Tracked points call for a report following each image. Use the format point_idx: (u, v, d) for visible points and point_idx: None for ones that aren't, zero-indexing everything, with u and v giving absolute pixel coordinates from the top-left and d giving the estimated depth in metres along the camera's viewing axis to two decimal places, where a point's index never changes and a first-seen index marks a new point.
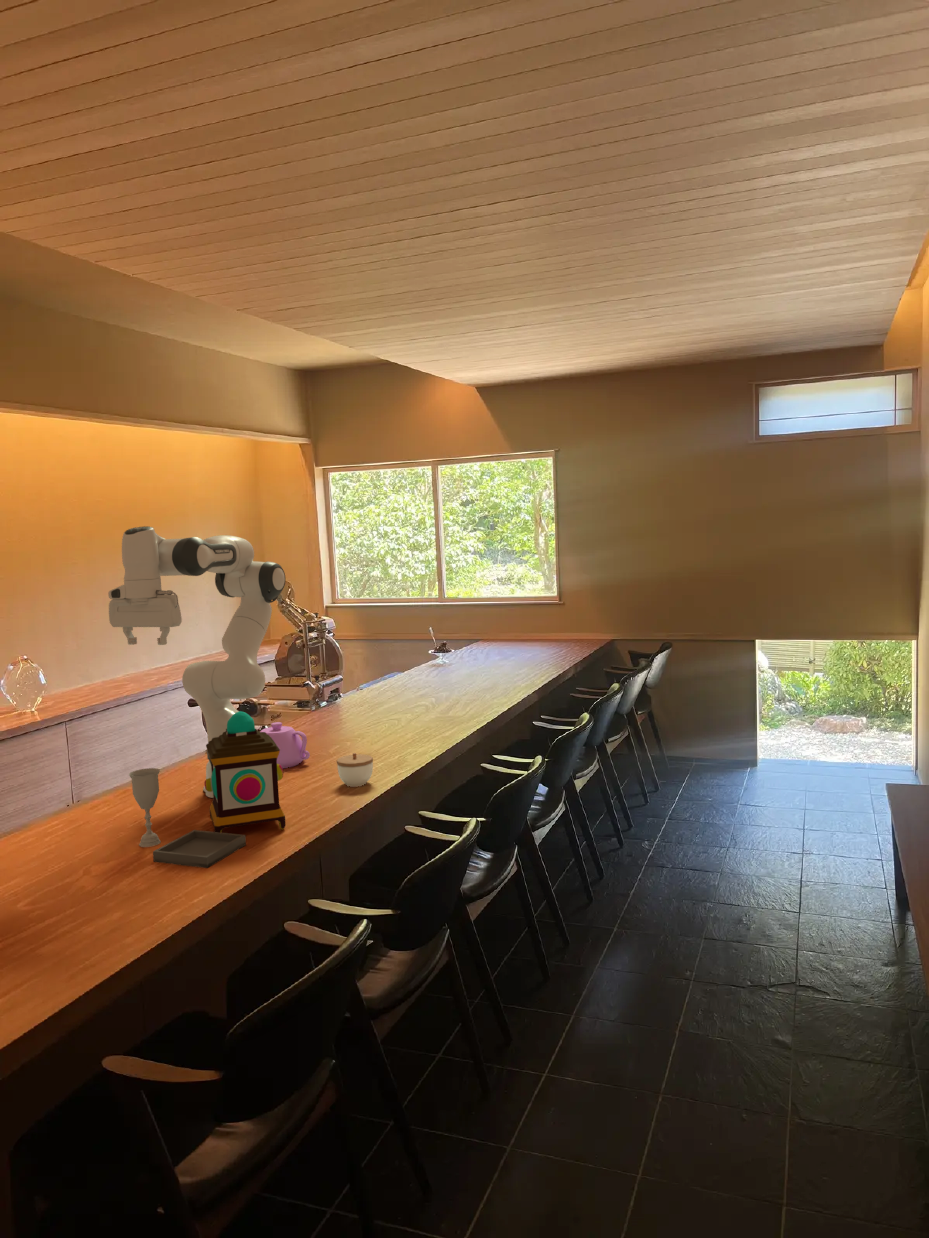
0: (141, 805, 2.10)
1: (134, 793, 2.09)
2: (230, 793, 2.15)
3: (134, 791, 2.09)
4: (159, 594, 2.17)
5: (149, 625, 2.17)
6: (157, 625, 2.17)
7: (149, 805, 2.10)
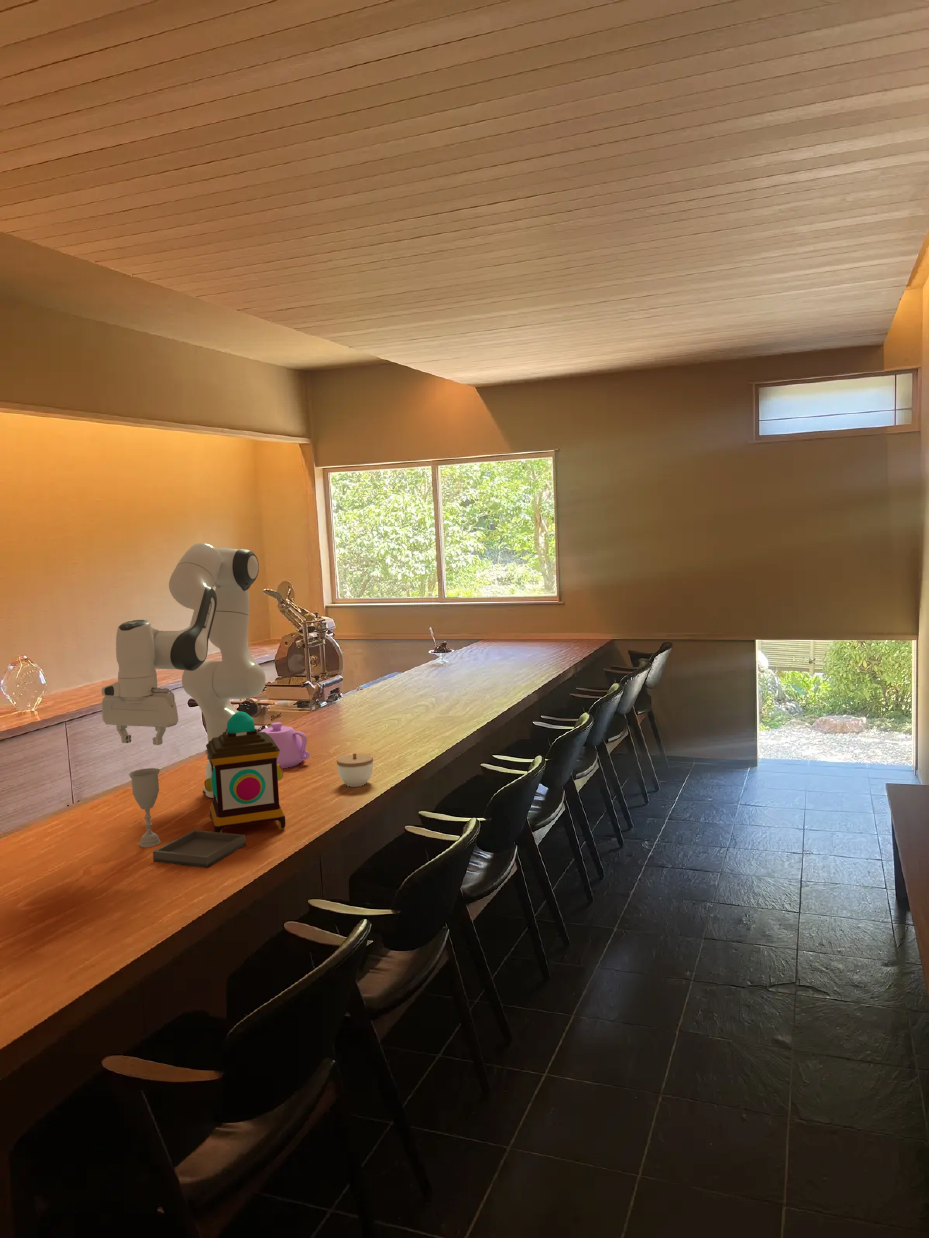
0: (141, 805, 2.10)
1: (134, 793, 2.09)
2: (230, 793, 2.15)
3: (134, 791, 2.09)
4: (155, 692, 2.07)
5: (144, 725, 2.07)
6: (152, 725, 2.06)
7: (149, 805, 2.10)
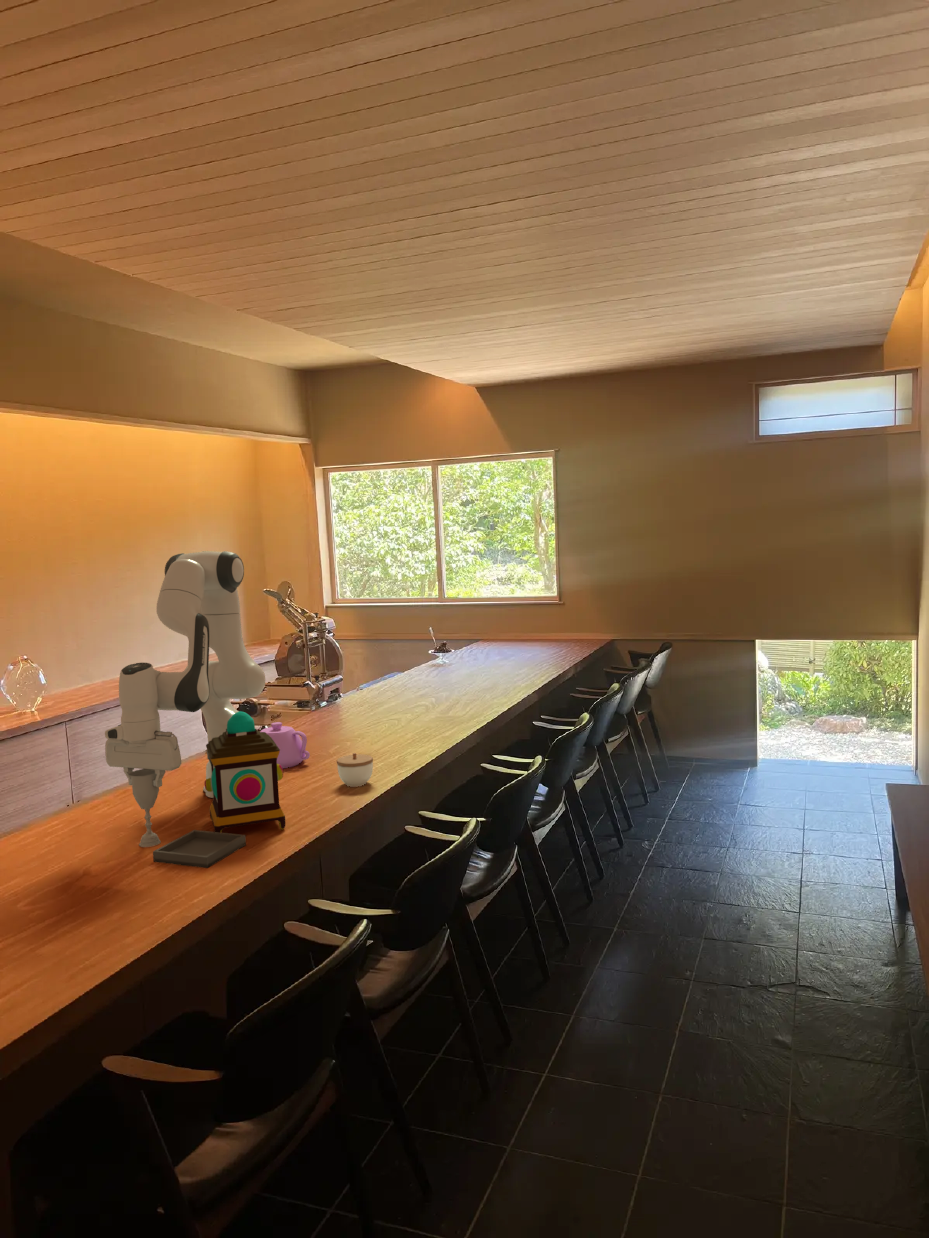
0: (141, 805, 2.10)
1: (134, 793, 2.09)
2: (230, 793, 2.15)
3: (134, 791, 2.09)
4: (158, 735, 2.08)
5: (148, 768, 2.08)
6: (156, 768, 2.07)
7: (149, 805, 2.10)
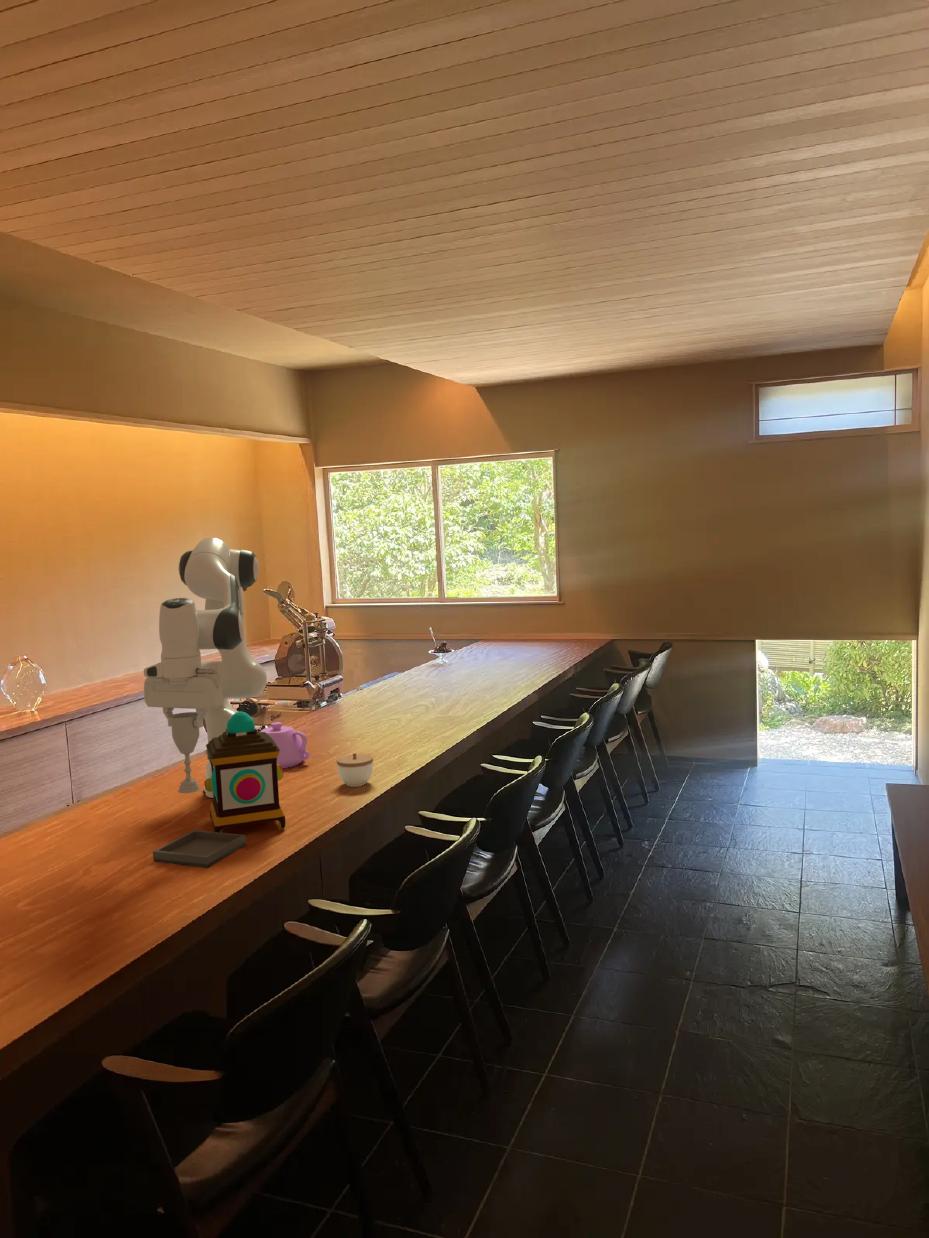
0: (181, 749, 2.01)
1: (174, 736, 2.00)
2: (230, 793, 2.15)
3: (174, 734, 2.00)
4: (199, 673, 1.99)
5: (189, 707, 1.99)
6: (197, 707, 1.98)
7: (189, 750, 2.01)
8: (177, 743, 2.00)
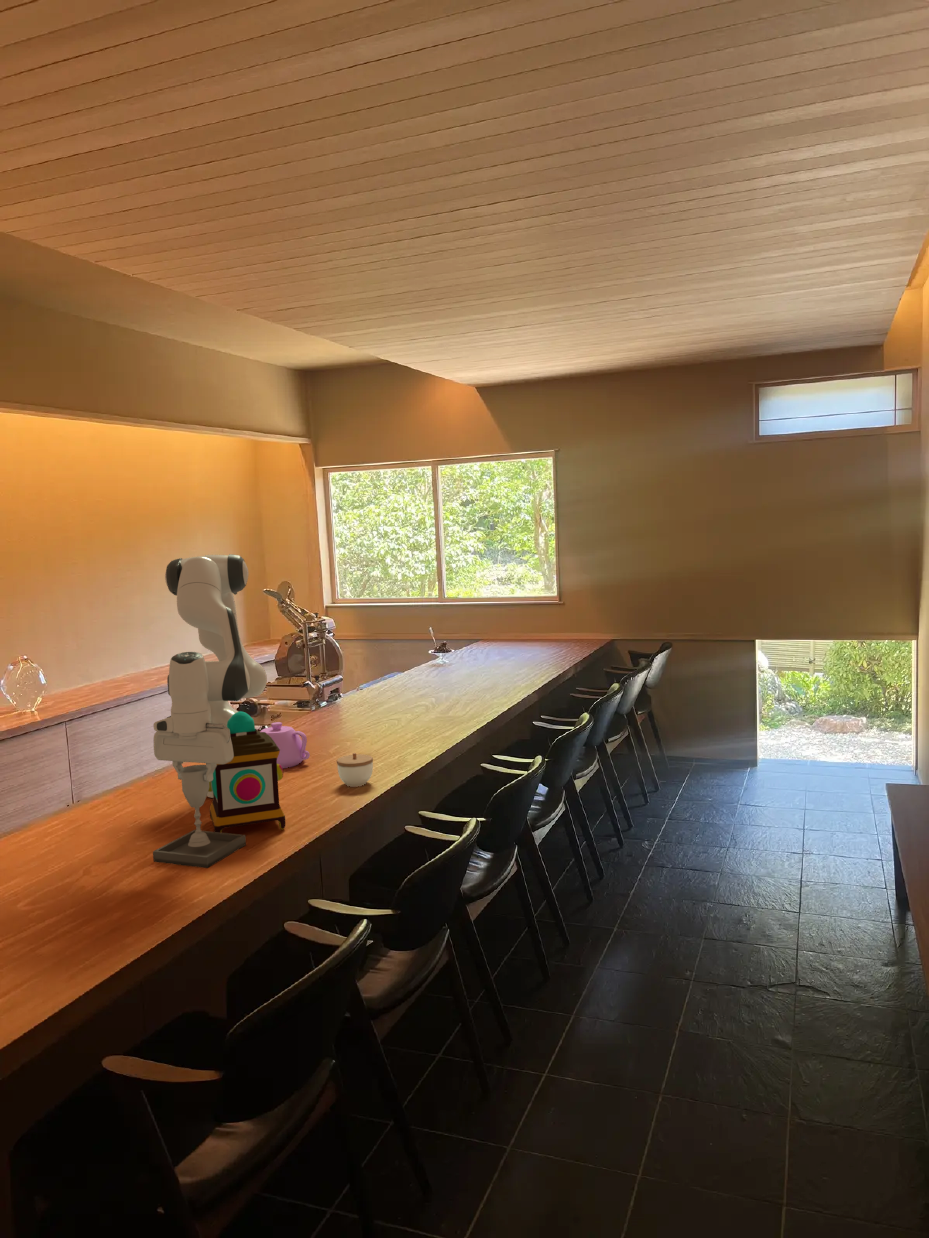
0: (191, 803, 2.01)
1: (184, 790, 2.00)
2: (230, 793, 2.15)
3: (184, 788, 2.00)
4: (209, 727, 1.99)
5: (199, 761, 2.00)
6: (207, 761, 1.99)
7: (199, 803, 2.02)
8: (187, 797, 2.00)
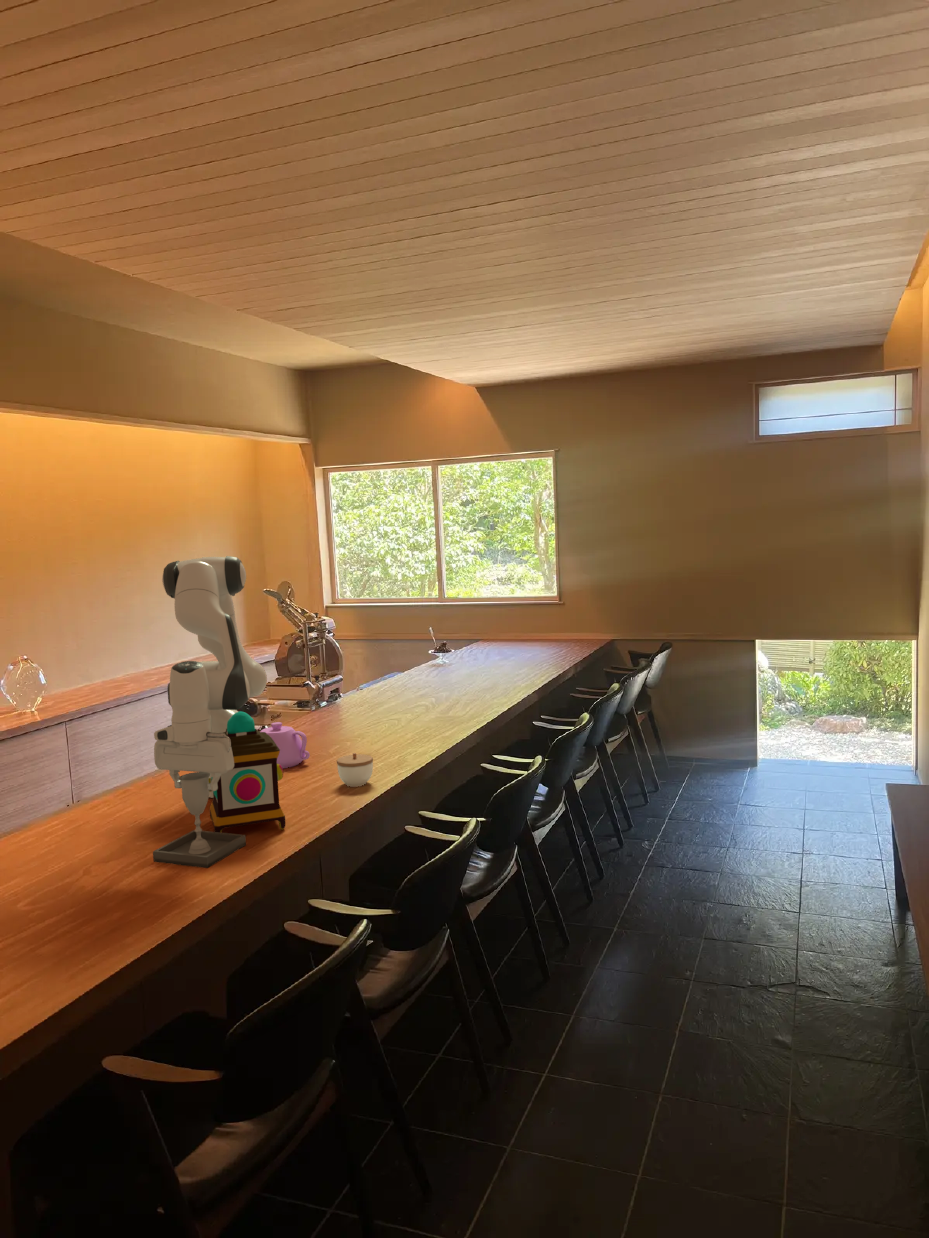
0: (192, 810, 2.01)
1: (184, 798, 2.00)
2: (230, 793, 2.15)
3: (184, 796, 2.00)
4: (210, 737, 1.99)
5: (199, 770, 2.00)
6: (208, 771, 1.99)
7: (200, 811, 2.02)
8: (187, 805, 2.01)
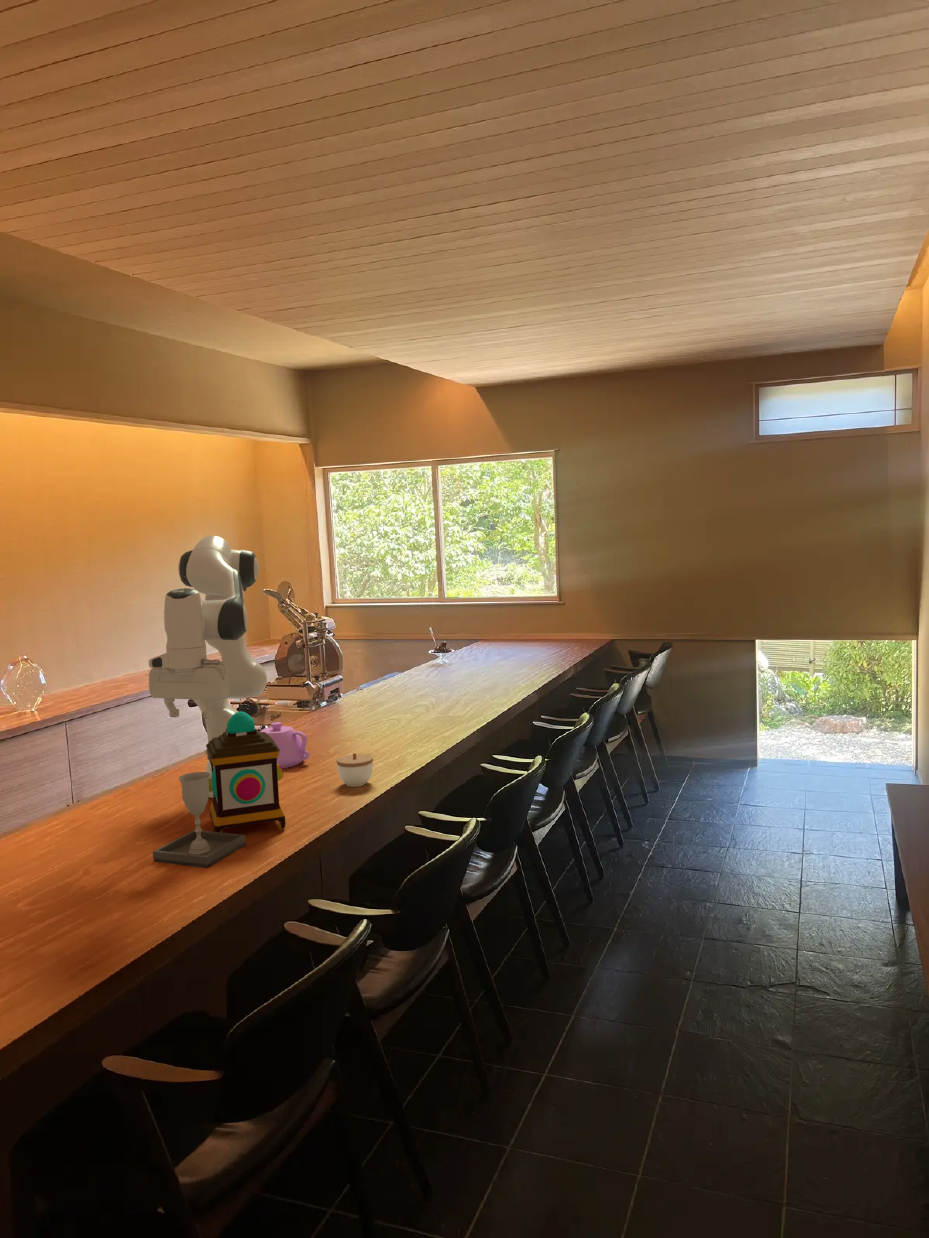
0: (192, 810, 2.01)
1: (184, 798, 2.00)
2: (230, 793, 2.15)
3: (184, 796, 2.00)
4: (205, 663, 1.98)
5: (194, 698, 1.98)
6: (203, 698, 1.97)
7: (200, 811, 2.02)
8: (187, 805, 2.01)
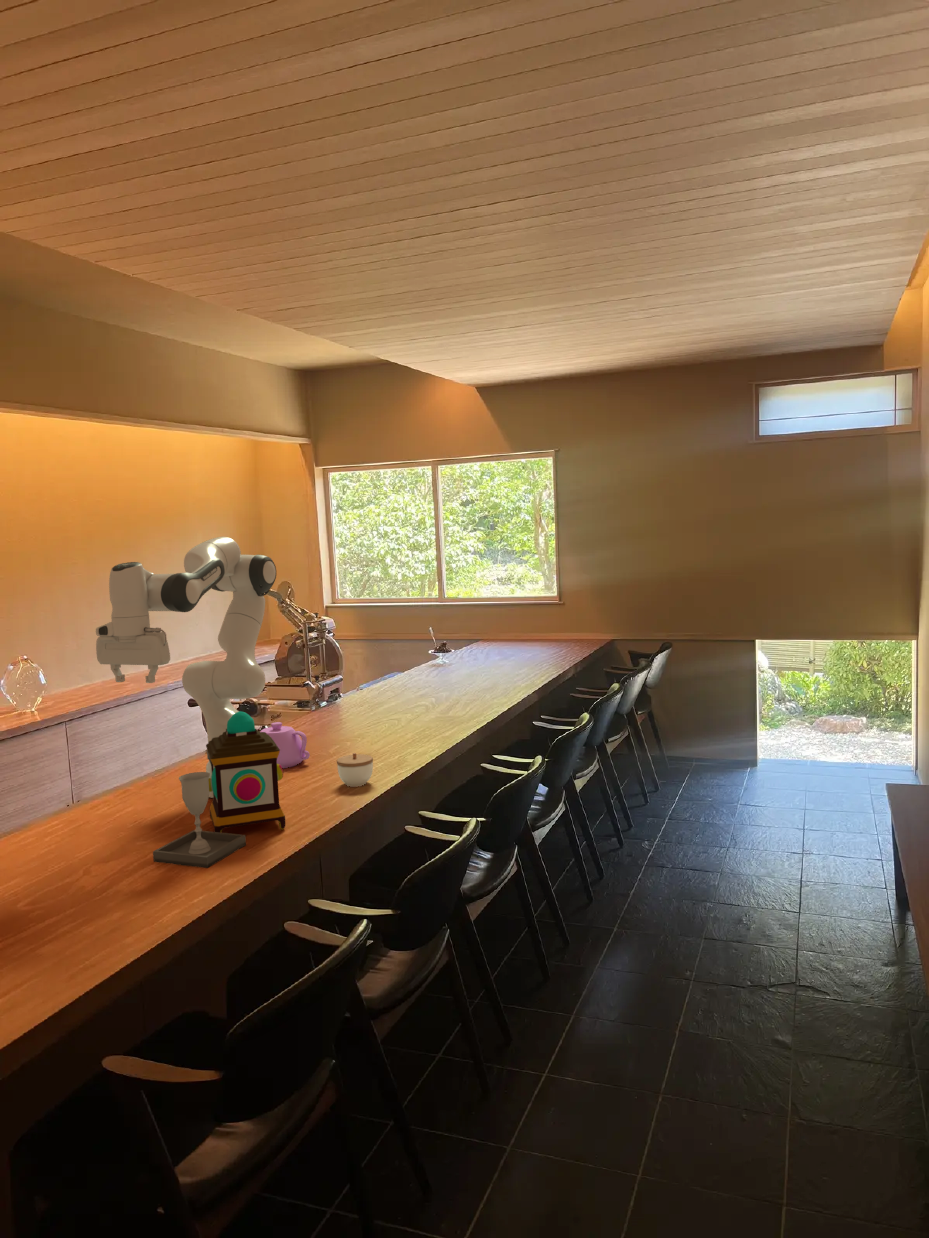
0: (192, 810, 2.01)
1: (184, 798, 2.00)
2: (230, 793, 2.15)
3: (184, 796, 2.00)
4: (147, 631, 2.13)
5: (137, 663, 2.13)
6: (145, 663, 2.12)
7: (200, 811, 2.02)
8: (187, 805, 2.01)
